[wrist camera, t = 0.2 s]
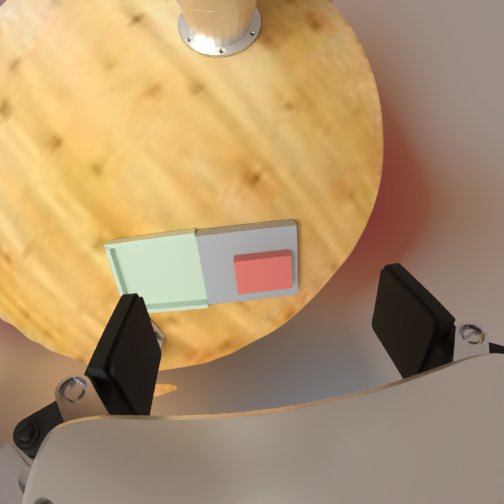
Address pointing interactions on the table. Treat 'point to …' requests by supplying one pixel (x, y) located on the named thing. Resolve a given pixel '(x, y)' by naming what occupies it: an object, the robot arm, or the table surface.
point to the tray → (159, 270)
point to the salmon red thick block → (263, 271)
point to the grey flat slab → (243, 242)
